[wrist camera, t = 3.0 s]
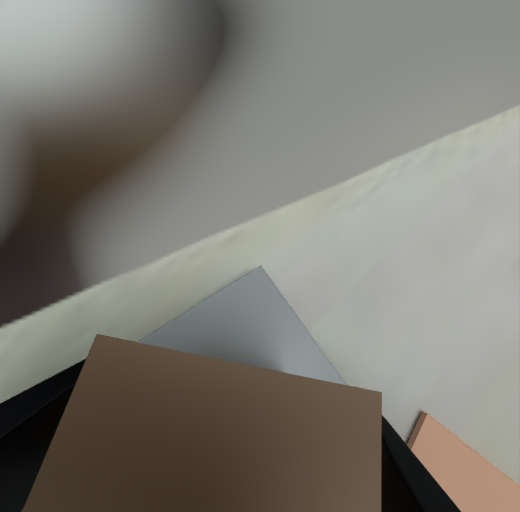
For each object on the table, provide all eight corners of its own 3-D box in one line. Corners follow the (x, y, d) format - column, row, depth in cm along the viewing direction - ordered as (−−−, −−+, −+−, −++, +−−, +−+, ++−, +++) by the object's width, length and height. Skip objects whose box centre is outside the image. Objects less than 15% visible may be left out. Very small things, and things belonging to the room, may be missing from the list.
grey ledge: (374, 439, 14) (394, 450, 12) (190, 616, 11) (180, 666, 9) (259, 276, 17) (260, 265, 15) (92, 381, 14) (70, 383, 13)
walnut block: (269, 485, 11) (380, 971, 2) (168, 464, 12) (-122, 850, 2) (284, 374, 13) (381, 392, 4) (197, 356, 13) (96, 334, 4)
